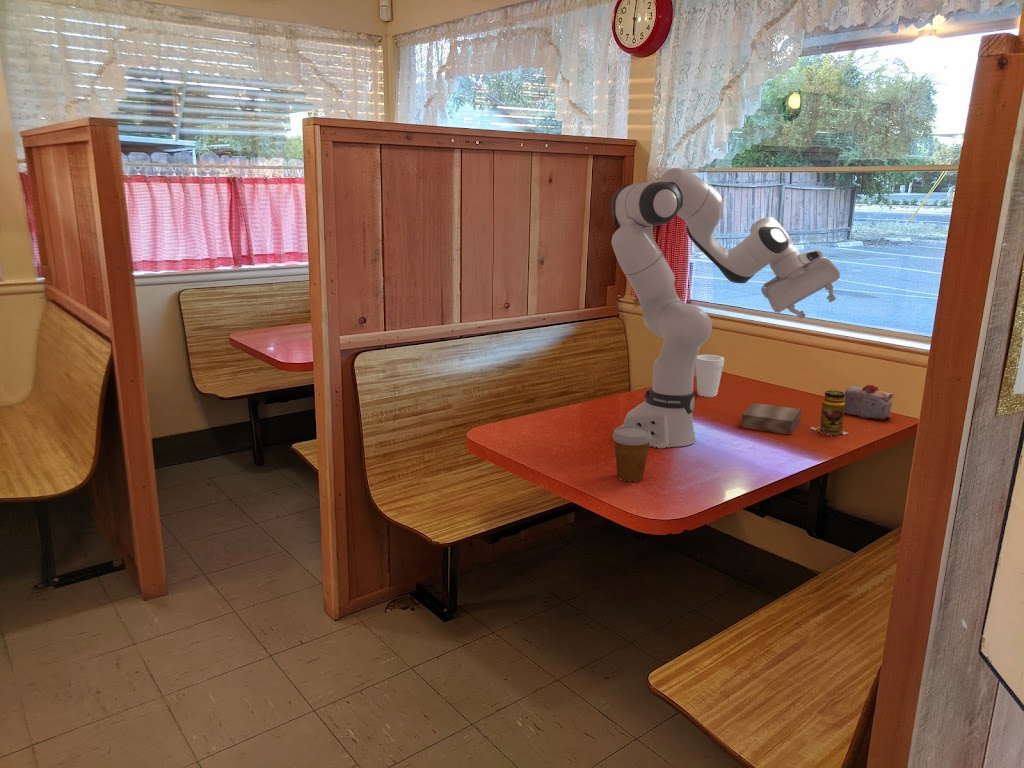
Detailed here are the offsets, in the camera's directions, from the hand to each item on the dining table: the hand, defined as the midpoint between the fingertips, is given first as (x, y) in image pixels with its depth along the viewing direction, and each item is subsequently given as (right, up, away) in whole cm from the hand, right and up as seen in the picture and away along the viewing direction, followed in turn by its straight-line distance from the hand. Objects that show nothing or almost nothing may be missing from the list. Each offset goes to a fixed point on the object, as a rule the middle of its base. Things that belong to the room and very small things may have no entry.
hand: (818, 309), depth 210 cm
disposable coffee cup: (-57, -44, -26) cm, 77 cm away
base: (-8, -33, +15) cm, 37 cm away
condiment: (+7, -35, +9) cm, 37 cm away
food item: (+25, -31, +23) cm, 46 cm away
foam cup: (-19, -25, +47) cm, 57 cm away
